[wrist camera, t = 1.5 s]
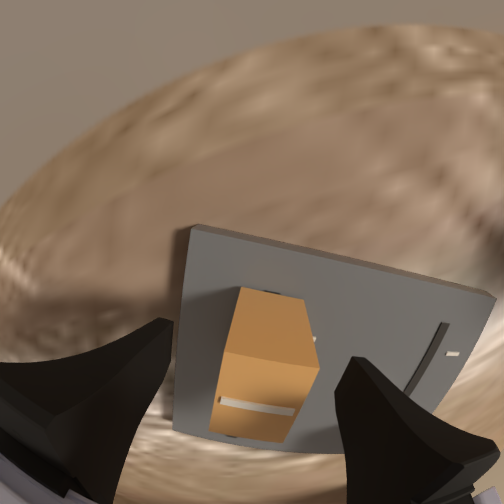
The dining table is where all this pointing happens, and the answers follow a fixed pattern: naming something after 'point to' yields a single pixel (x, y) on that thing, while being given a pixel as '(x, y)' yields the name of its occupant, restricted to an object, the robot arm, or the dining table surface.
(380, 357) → the console
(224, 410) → the orange fader
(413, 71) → the dining table surface
